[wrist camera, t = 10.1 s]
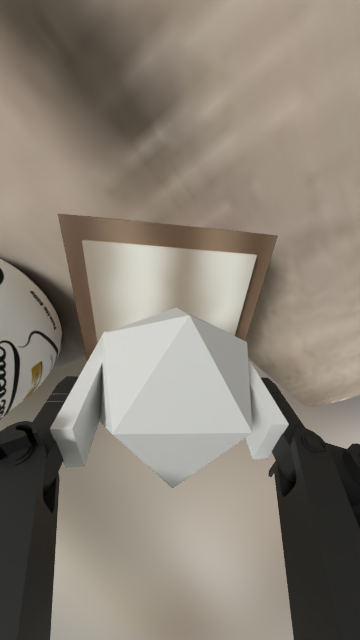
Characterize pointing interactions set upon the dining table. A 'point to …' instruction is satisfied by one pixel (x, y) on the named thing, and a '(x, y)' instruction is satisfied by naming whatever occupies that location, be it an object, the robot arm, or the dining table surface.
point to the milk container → (24, 337)
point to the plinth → (162, 273)
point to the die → (175, 392)
